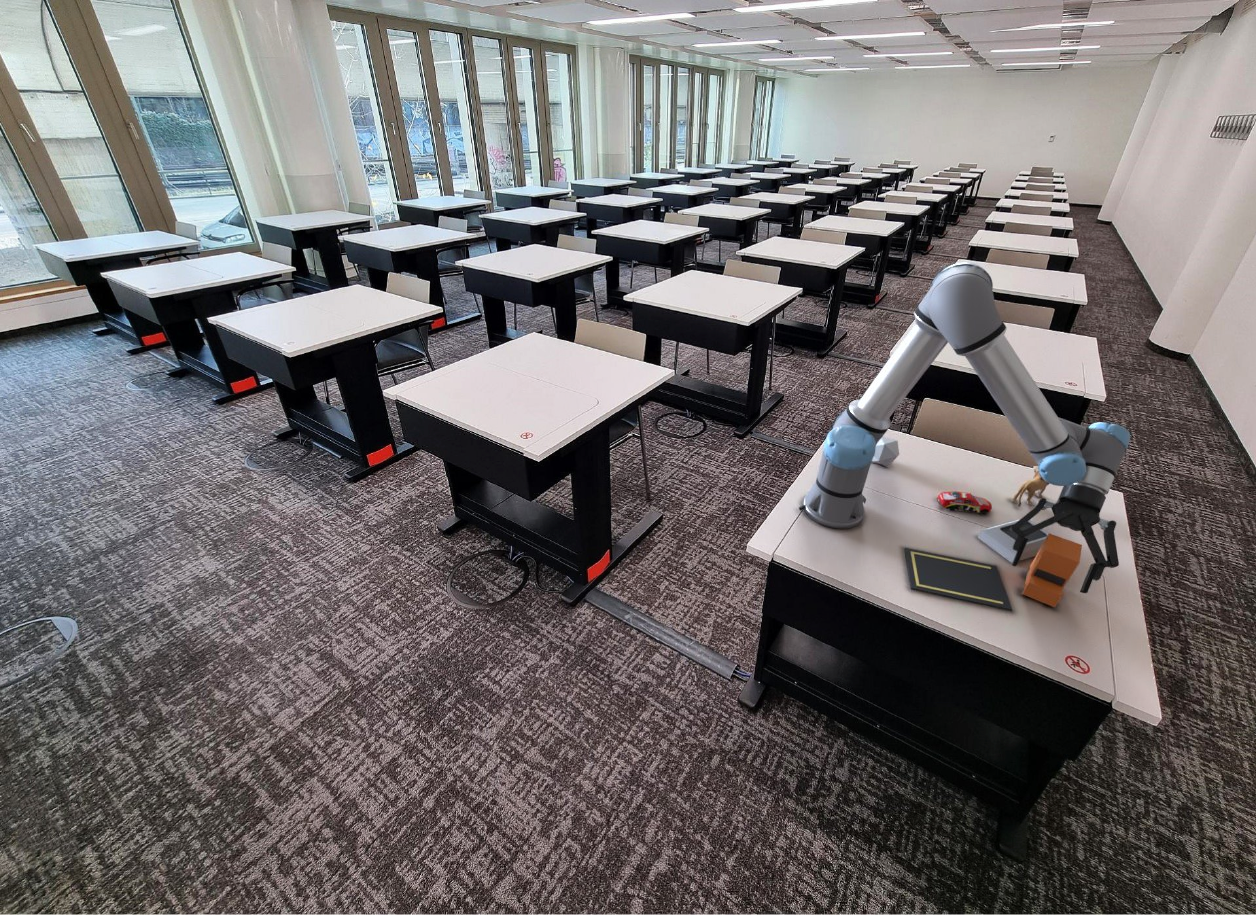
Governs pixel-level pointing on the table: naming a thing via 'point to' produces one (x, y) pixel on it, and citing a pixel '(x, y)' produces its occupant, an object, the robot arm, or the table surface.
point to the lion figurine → (1031, 487)
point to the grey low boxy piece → (1012, 540)
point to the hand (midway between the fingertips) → (1047, 578)
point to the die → (886, 451)
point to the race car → (964, 502)
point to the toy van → (1051, 569)
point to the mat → (956, 578)
